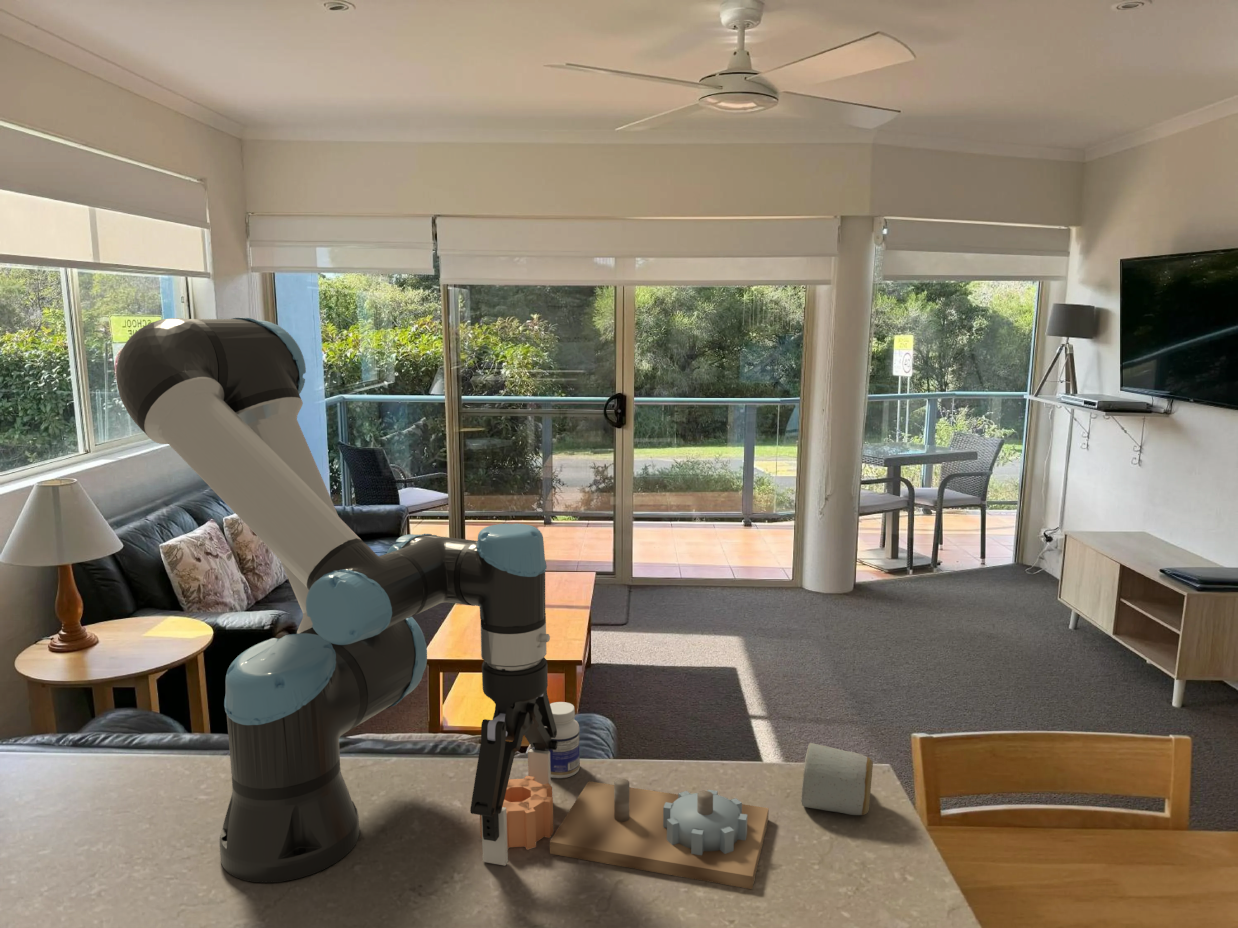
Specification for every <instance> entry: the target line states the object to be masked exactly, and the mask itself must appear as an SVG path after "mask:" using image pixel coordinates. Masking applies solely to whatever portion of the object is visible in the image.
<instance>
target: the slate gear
mask: <svg viewBox="0 0 1238 928" xmlns="http://www.w3.org/2000/svg"><path fill="white" fill-rule="evenodd" d="M706 791H709V792H711V793H712V794H713V813H712V814H710V815H701V814H699V813H698V812H697V794H698V793H699V792H695V793H691V792H689V791H688V790H684V791H682V792H678V793H677V794H678V799H677V800H676V801H674V802H673V803H668V802H666V803H665V805H664V807H663V827H664V828H667V841H668V842H669V843H671V844H672V845H675V844H678V843H679V844H681V845H683V846H685V847H687V848H690V849H691V854H696V855H702V854H703V851H718V850H721V851H722V852H723V853H724V854H726V853H729V852H732V851H734V844H735V843H736V841H737V840H738V839H739V840H746V837H747V815H746V814H742V804H743V803H742V801H740V800H739V799H738V798H732V799H729V798H728V797H725V796H722V795H720V794H718V790H713V789H707V790H706Z"/></svg>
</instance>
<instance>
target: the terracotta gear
mask: <svg viewBox="0 0 1238 928" xmlns="http://www.w3.org/2000/svg"><path fill="white" fill-rule="evenodd" d="M503 807H505V808H506V814H507V848H508V849H510V848H519V847H521V848H523V847H525V849H526V850H531V849H534V848H537V842H539V841H540V840H542V839H543V838H550V839H551V837H553V835H554V797H553V786H552V784H551V785H550V784H549V783H547V784H540V783H538V782H536V781H535V777H531V776H528V775H526V776H525V777H524V778H509V781H508V785H507V789H506V794H505V798H504V802H503ZM479 833H480V840H482V820H481V815H479Z"/></svg>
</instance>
